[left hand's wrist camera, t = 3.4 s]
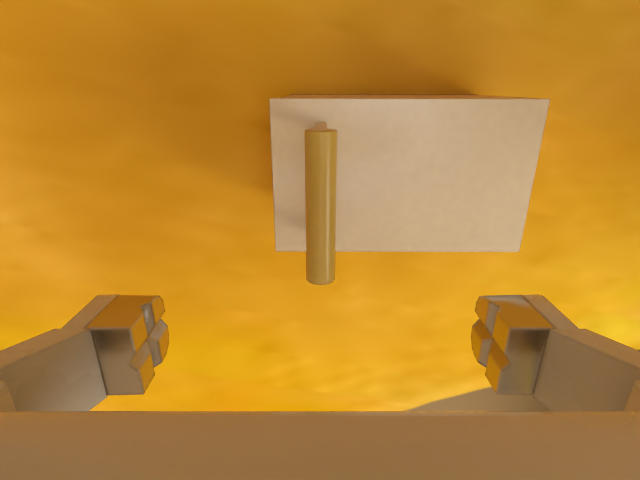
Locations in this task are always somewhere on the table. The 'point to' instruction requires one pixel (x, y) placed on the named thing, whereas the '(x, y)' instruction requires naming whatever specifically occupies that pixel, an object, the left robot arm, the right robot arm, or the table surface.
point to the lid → (401, 175)
